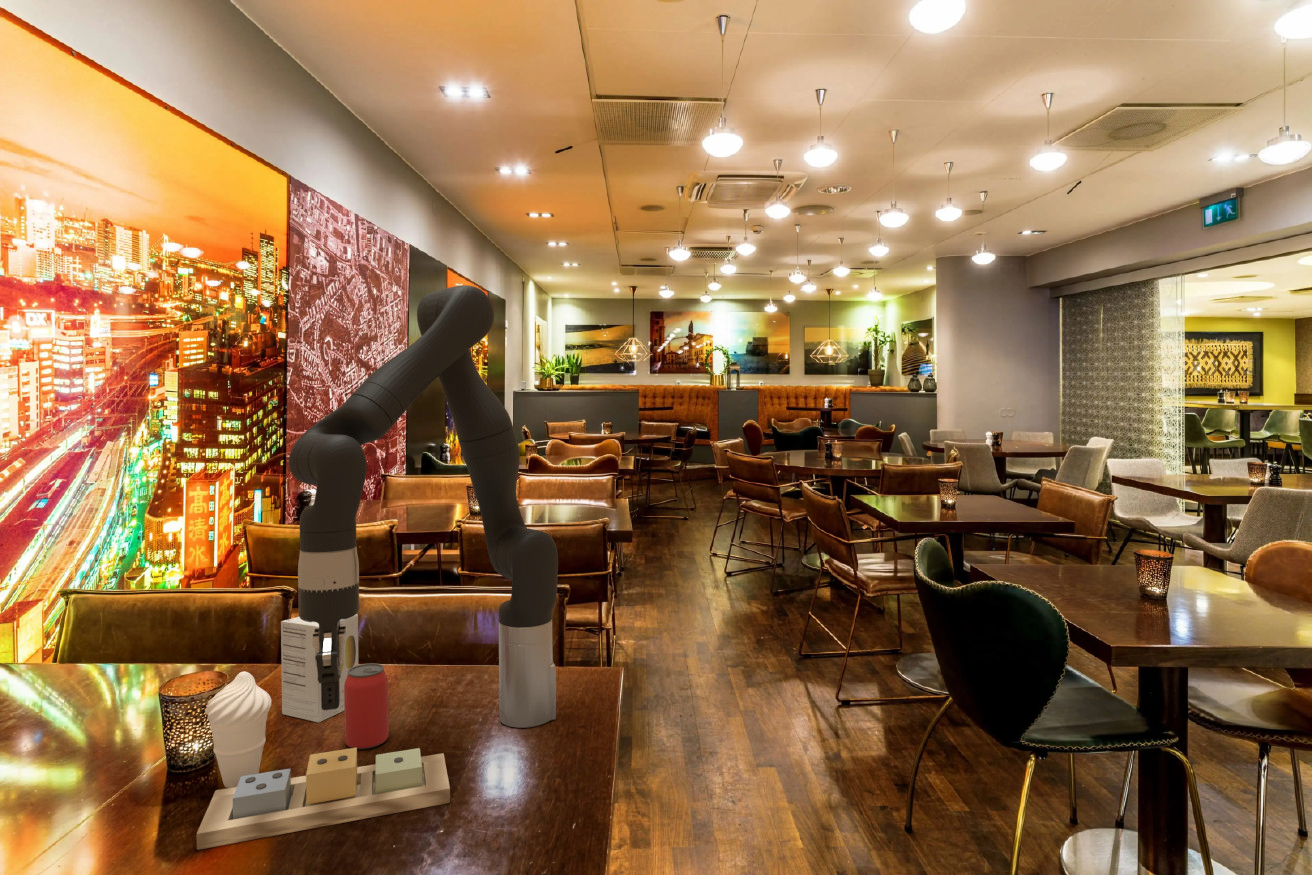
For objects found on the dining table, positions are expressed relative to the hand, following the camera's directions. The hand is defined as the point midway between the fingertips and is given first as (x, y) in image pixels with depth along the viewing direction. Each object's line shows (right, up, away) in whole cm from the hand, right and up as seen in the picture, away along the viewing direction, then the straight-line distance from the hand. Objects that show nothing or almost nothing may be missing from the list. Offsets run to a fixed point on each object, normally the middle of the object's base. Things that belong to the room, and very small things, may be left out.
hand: (330, 707), depth 99 cm
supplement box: (-16, -13, +32) cm, 38 cm away
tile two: (0, -11, 0) cm, 11 cm away
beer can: (-3, -13, +19) cm, 23 cm away
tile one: (+8, -13, +4) cm, 16 cm away
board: (0, -13, +1) cm, 13 cm away
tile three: (-8, -13, -2) cm, 15 cm away
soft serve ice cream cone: (-16, -13, +7) cm, 22 cm away
